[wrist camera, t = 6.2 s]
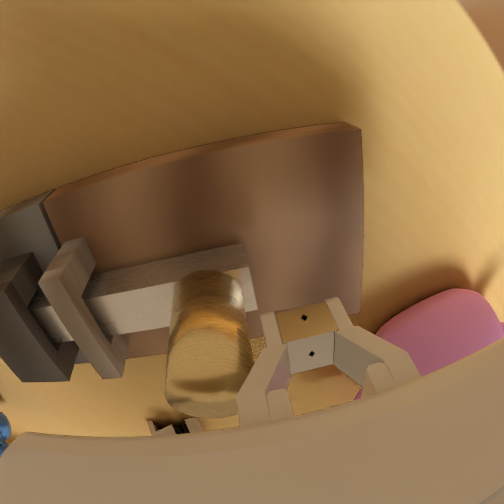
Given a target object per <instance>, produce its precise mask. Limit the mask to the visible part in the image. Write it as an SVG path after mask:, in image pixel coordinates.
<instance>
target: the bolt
mask: <svg viewBox="0 0 504 504" xmlns="http://www.w3.org/2000/svg"><path fill="white" fill-rule="evenodd" d="M81 297H82V299H83V300H84V302H85V304H86V306H87V307H88V309H89V311H90V313H91V314H92V316H93V318H94V319H95V321H96V323H97V324H98V326H99V327H100V329H101V331H102V332H103V334H104V336H111V335H118V334H125V333H132V332H138V331H144V330H151V329H157V328H163V327H169V326H170V331H169V342H168V354H167V367H166V381H165V397H166V400H167V401H168V403H169V404H170V405H171V406H172V407H173V408H175V409H176V410H178V411H180V412H182V413H184V414H187V415H190V416H194V417H200V418H222V417H228V416H232V415H235V414H238V406H237V398H236V396H237V394H238V392H239V391H240V389H241V387H242V385H243V383H244V382H245V380H246V378H247V376H248V374H249V373H250V371H251V369H252V367H253V365H254V361H253V355H252V349H251V343H250V337H249V331H248V325H247V319H246V313H245V312H248V311H253V310H258V308H257V303H256V299H255V294H254V289H253V284H252V280H251V275H250V270H249V265H248V261H247V256H246V251H245V246H244V242H242V243H238V244H233V245H228V246H223V247H219V248H214V249H209V250H204V251H200V252H195V253H190V254H186V255H181V256H176V257H172V258H167V259H163V260H158V261H153V262H149V263H144V264H140V265H135V266H130V267H126V268H121V269H117V270H112V271H108V272H103V273H99V274H94V275H91V276H90V278H89V280H88V283H87V285H86V287H85V289H84V291H83V294H82V296H81ZM27 308H28V309H29V311H30V312H31V314H32V316H33V317H34V319H35V320H36V322H37V323H38V324H39V326H40V327H41V329H42V330H43V332H44V333H45V335H46V336H47V337H48V339H49V340H50V342H51V343H57V342H65V341H74V340H73V338H72V337H71V335H70V334H69V332H68V331H67V329H66V328H65V326H64V325H63V323H62V322H61V320H60V319H59V317H58V316H57V314H56V312H55V311H54V309H53V308H52V306H51V304H50V303H49V301H48V299H47V298H46V296H45V294H44V293H43V291H42V289H41V288H40V287H38V289H37V290H36V292H35V294H34V296H33V297H32V299H31V301H30V302H29V304H28V306H27Z"/></svg>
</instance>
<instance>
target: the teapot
mask: <svg viewBox="0 0 504 504" xmlns="http://www.w3.org/2000/svg"><path fill="white" fill-rule="evenodd" d="M375 335H376V336H378V337H380V338H382V339H384V340H386V341H388V342H389V343H391V344H393V345H395V346H397V347H399V348H401V349H403V350H405V351H406V352H408V354H409V356H410V358H411V359H412V361H413V363H414V365H415V366H416V368H417V370H418V372H419V373H420V375H421V376H424V375H426V374H429V373H431V372H433V371H436V370H438V369H440V368H443V367H445V366H447V365H449V364H452V363H454V362H456V361H458V360H460V359H462V358H464V357H466V356H468V355H471V354H473V353H475V352H477V351H479V350H480V349H482V348H484V347H486V346H488V345H490V344H492V343H494V342H496V341H498V340H499V339H501V338H503V337H504V323H503V322H499V320H498V318H497V316H496V314H495V312H494V310H493V309H492V307H491V306H490V304H489V303H488V302H487V301H486V299H485V298H484V297H483V296H482V295H481V294H480V293H478V292H476V291H473V290H468V289H459V288H453V289H448V290H445V291H442V292H440V293H437V294H435V295H433V296H431V297H428V298H426V299H424V300H422V301H420V302H418V303H416V304H415V305H413V306H411V307H409V308H407V309H406V310H404V311H402V312H400V313H399V314H397V315H396V316H394V317H393V318H391V319H390V320H389V321H387V322H386V323H385V324H384V325H383V326H382V327H381V328H380V329H379V330H378V331H377V332H376V334H375ZM362 390H363V387H362V388H361V389H360V391H359V392H358V394H357V395H356V397H355V398H354V400H357V399H360V398H361V394H362ZM354 400H353V401H354Z"/></svg>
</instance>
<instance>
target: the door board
mask: <svg viewBox="0 0 504 504" xmlns="http://www.w3.org/2000/svg"><path fill="white" fill-rule="evenodd" d="M363 238H364V185H363V155H362V137H361V129H359V128H357V127H355V126H352V125H350V124H347V123H345V122H339V123H330V124H322V125H314V126H306V127H299V128H292V129H286V130H279V131H273V132H267V133H261V134H256V135H250V136H245V137H239V138H234V139H229V140H224V141H220V142H215V143H210V144H206V145H201V146H197V147H193V148H188V149H184V150H180V151H176V152H172V153H168V154H164V155H161V156H157V157H153V158H149V159H146V160H142V161H139V162H135V163H132V164H128V165H125V166H122V167H118V168H115V169H112V170H109V171H105V172H102V173H99V174H96V175H93V176H90V177H87V178H84V179H81V180H78V181H75V182H73V183H70V184H67V185H64V186H61V187H59V188H58V189H56V190H55V189H53V190H51V191H48V192H45V193H43V194H40V195H38V196H35V197H33V198H30V199H28V200H25V201H23V202H20V203H18V204H16V205H13V206H11V207H9V208H6V209H4V210H2V211H0V357H1V358H2V359H3V361H4V362H5V363H6V364H7V365H8V367H9V368H10V369H11V370H12V371H13V372H14V373H15V375H16V376H17V377H18V378H19V379H20V380H21V381H22V382H60V381H70V377H71V374H72V370H73V367H74V364H80V363H91V364H92V366H93V367H94V368H95V370H96V371H97V372H98V374H99V375H100V376H101V377H102V379H110V378H122V376H123V371H124V365H125V360H126V359H128V358H136V357H144V356H151V355H159V354H166V353H168V342H169V331H170V326H169V327H163V328H157V329H151V330H144V331H138V332H132V333H125V334H118V335H111V336H104V334H103V332H102V331H101V329H100V327H99V326H98V324H97V323H96V321H95V319H94V318H93V316H92V314H91V313H90V311H89V309H88V307H87V306H86V304H85V302H84V300H83V299H82V297H81V296H82V294H83V291H84V289H85V287H86V285H87V283H88V280H89V278H90V276H91V275H94V274H99V273H103V272H108V271H112V270H117V269H121V268H126V267H130V266H135V265H140V264H144V263H149V262H153V261H158V260H163V259H167V258H172V257H176V256H181V255H186V254H190V253H195V252H200V251H204V250H209V249H214V248H219V247H223V246H228V245H233V244H238V243H242V242H244V246H245V251H246V256H247V261H248V265H249V270H250V275H251V280H252V284H253V289H254V294H255V299H256V303H257V308H258V310H253V311H248V312H245V313H246V319H247V325H248V331H249V337H250V339H251V338H256V337H261V336H264V333H263V328H262V323H261V318H260V314H263V313H269V312H274V311H278V310H283V309H288V308H293V307H298V306H302V305H306V304H310V303H314V302H318V301H323V300H326V299H330V298H334V297H338V298H339V299H340V301H341V303H342V305H343V307H344V309H345V311H346V313H347V315H348V316H349V315H353V314H357V313H360V302H361V287H362V268H363ZM38 287H40V288H41V289H42V291H43V293H44V294H45V296H46V298H47V299H48V301H49V303H50V304H51V306H52V308H53V309H54V311H55V312H56V314H57V316H58V317H59V319H60V320H61V322H62V323H63V325H64V326H65V328H66V329H67V331H68V332H69V334H70V335H71V337H72V338H73V340H74V341H65V342H57V343H51V342H50V340H49V339H48V337H47V336H46V335H45V333H44V332H43V330H42V329H41V327H40V326H39V324H38V323H37V322H36V320H35V319H34V317H33V316H32V314H31V312H30V311H29V309H28V308H27V306H28V304H29V302H30V301H31V299H32V297H33V296H34V294H35V292H36V290H37V289H38Z"/></svg>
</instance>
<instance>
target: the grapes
mask: <svg viewBox="0 0 504 504" xmlns="http://www.w3.org/2000/svg"><path fill="white" fill-rule="evenodd" d="M10 434H11V425H10V423H9V421H8V419H7V417H6V416H5V415H4V414H3V413H2V412H0V457H1V455H2V453H3V452H4V451H5V450H6V449H7V447H8V446H9V445H8V444H7V443H6V442H5V441H4V440H6V439H8V438H9V437H10Z"/></svg>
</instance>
